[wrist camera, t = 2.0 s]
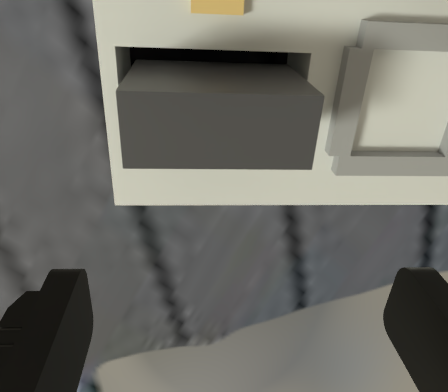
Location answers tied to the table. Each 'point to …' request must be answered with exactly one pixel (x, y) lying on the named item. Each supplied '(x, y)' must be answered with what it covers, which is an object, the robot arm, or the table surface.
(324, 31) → the panel
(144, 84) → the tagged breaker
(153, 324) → the table surface
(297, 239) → the table surface
